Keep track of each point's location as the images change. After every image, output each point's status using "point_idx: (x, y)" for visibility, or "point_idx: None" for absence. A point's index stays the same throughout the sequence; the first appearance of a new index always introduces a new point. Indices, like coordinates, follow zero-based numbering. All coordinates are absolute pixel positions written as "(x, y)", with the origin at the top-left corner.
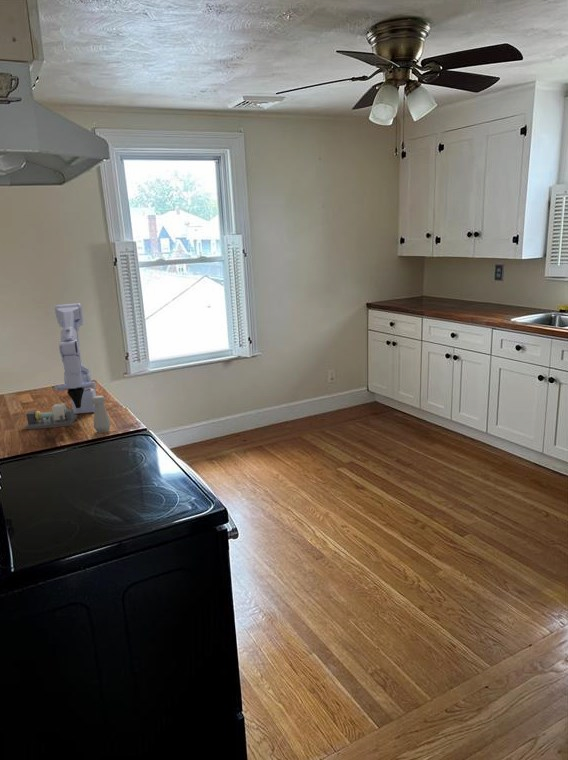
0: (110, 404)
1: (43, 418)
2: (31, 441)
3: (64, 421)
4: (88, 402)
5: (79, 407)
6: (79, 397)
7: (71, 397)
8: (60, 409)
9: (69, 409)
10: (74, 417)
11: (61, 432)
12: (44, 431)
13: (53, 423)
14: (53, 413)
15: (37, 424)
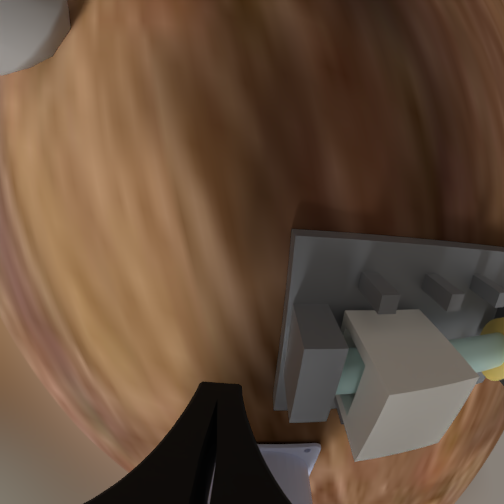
0: None
1: None
2: (457, 5)
3: (348, 284)
4: (210, 491)
5: (201, 383)
6: (139, 472)
7: (275, 497)
8: (405, 365)
9: (318, 407)
10: (280, 361)
11: (331, 67)
12: (452, 159)
13: (422, 258)
14: (445, 340)
15: (495, 273)
